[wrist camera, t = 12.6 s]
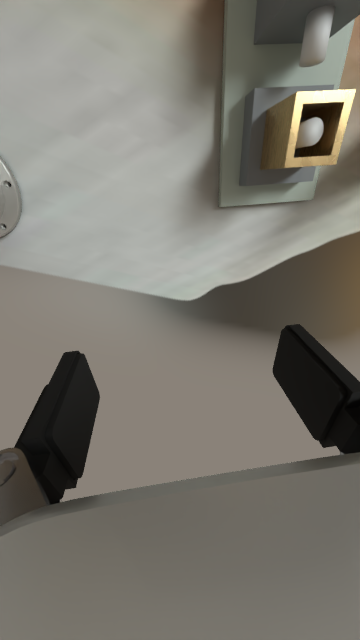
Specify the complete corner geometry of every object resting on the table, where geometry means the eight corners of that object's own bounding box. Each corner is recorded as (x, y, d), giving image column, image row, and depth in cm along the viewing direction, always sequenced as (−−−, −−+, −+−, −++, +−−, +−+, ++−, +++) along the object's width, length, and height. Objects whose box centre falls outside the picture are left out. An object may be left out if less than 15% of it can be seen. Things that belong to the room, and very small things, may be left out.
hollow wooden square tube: (266, 109, 25) (296, 91, 20) (314, 107, 25) (355, 89, 20) (259, 169, 28) (284, 167, 23) (302, 167, 28) (336, 164, 23)
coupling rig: (218, 206, 33) (238, 214, 26) (226, -69, 21) (271, -211, 13) (307, 199, 34) (353, 204, 27) (367, -69, 22) (484, -202, 14)
